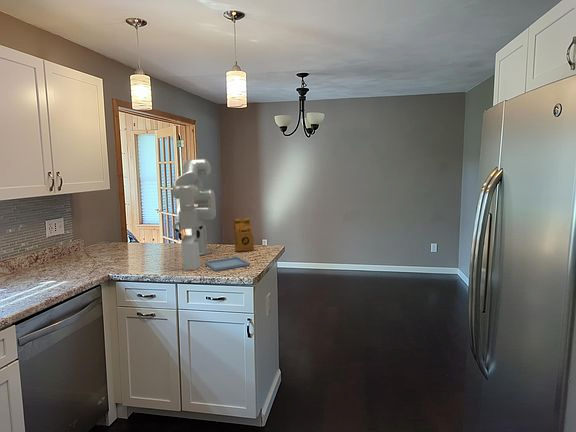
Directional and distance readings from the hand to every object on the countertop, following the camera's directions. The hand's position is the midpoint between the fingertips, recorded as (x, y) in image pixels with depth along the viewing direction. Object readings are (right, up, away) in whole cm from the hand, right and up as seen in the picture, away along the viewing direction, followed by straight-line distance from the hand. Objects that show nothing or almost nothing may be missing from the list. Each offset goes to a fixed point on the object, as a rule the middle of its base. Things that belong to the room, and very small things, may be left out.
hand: (189, 238), depth 217 cm
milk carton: (+1, -17, +2) cm, 17 cm away
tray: (+20, -15, +6) cm, 26 cm away
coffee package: (+26, -11, +45) cm, 53 cm away
